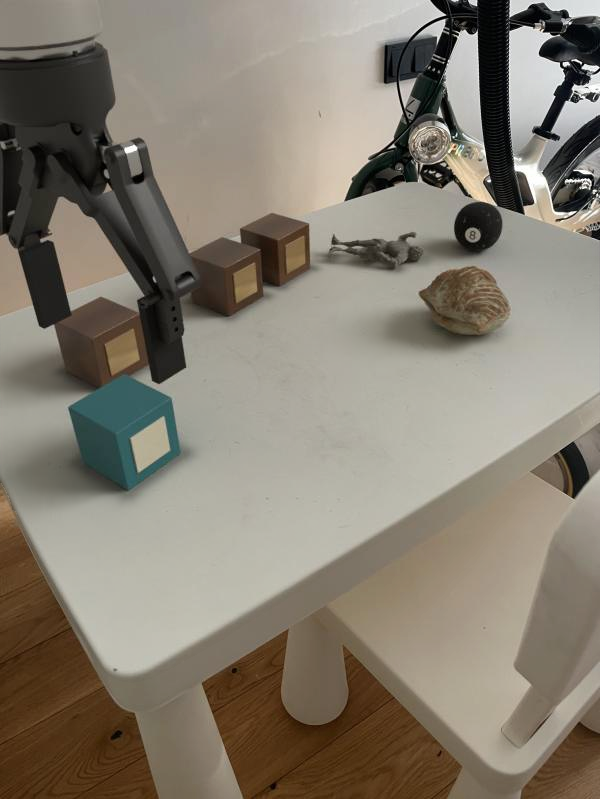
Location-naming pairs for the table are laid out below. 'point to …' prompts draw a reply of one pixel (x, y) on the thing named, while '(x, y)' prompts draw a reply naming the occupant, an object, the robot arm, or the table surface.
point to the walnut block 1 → (102, 342)
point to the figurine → (382, 249)
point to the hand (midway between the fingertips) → (109, 346)
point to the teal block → (125, 430)
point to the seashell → (466, 301)
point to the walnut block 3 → (279, 246)
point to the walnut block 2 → (227, 275)
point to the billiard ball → (478, 226)
